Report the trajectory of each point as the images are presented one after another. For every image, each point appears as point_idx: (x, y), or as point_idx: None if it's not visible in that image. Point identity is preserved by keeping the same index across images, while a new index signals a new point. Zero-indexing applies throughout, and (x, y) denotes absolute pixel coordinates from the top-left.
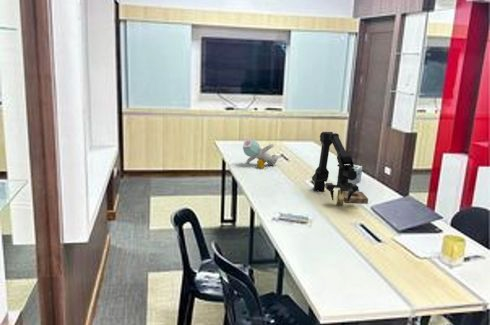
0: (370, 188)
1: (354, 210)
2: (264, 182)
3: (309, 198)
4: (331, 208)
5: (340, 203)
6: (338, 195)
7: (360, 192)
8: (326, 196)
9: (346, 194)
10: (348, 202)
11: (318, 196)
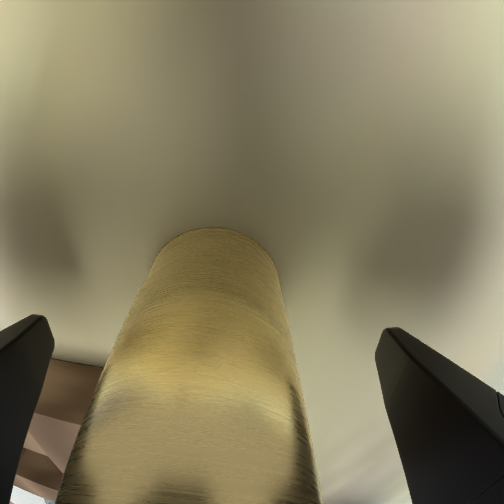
0: (18, 494)
1: (20, 22)
2: None
3: None
4: (441, 75)
5: (217, 249)
6: (304, 445)
7: None
8: None
9: None
10: (69, 366)
11: (380, 465)
